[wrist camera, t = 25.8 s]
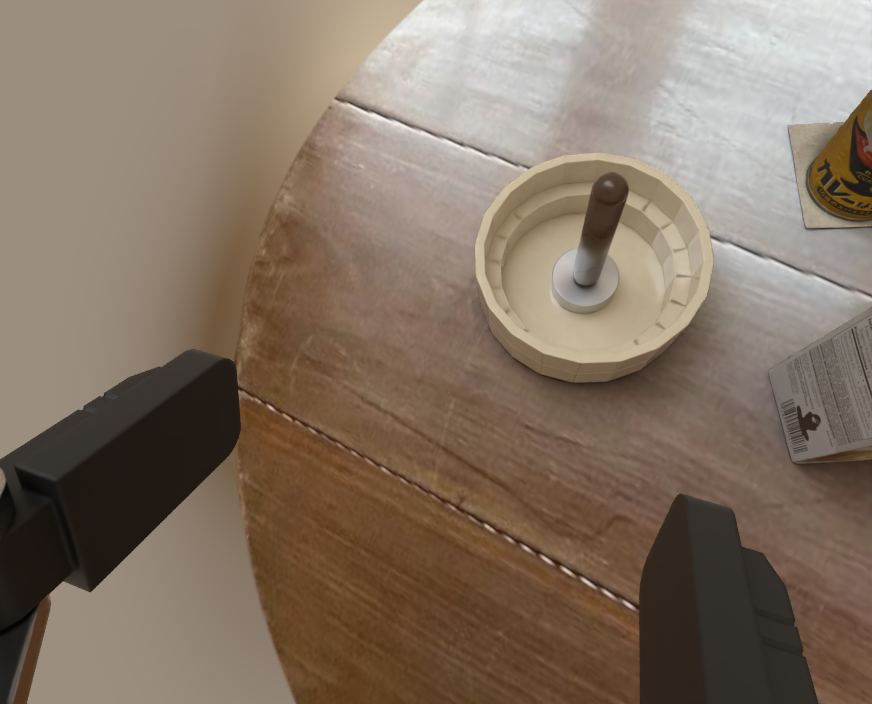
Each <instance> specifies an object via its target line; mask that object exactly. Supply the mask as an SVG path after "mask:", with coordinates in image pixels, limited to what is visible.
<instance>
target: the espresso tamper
mask: <svg viewBox="0 0 872 704" xmlns="http://www.w3.org/2000/svg"><path fill="white" fill-rule="evenodd" d="M628 194H629V184H628V181H627V180H626V178H625V177H624V176H623V175H621V174H619V173H617V172H607V173H604V174H602V175H601V176H599V177H598V178H597V179H596V180H595V182H594V184H593V186H592V190H591V194H590V199H589V203H588V207H587V212H586V216H585V220H584V225H583V229H582V233H581V237H580V242H579V246H578V248H574V249H572V250H569V251H567V252H566V253H564V254H563V255H562V256H561V257H560V258H559V259H558V260H557V262H556V264H555V266H554V268H553V273H552V279H551V289H552V293H553V296H554V298H555V299H556V301H557V302H558V303H559V304H560V305H561V306H562V307H563V308H565V309H567V310H569V311H571V312H574V313H578V314H589V313H594V312H597V311H599V310H601V309H603V308H604V307H605V306H607V305H608V303H609V302H610V301H611V300H612V298H613V296H614V294H615V291H616V289H617V287H618V284H619V271H618V268H617V265H616V263H615V262H614V260H613V259H612V258H611V257H610V256H609V255H608V252H609V249H610V246H611V243H612V240H613V237H614V235H615V232H616V229H617V226H618V223H619V220H620V217H621V214H622V212H623V209H624V206H625V203H626V200H627V197H628Z"/></svg>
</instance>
